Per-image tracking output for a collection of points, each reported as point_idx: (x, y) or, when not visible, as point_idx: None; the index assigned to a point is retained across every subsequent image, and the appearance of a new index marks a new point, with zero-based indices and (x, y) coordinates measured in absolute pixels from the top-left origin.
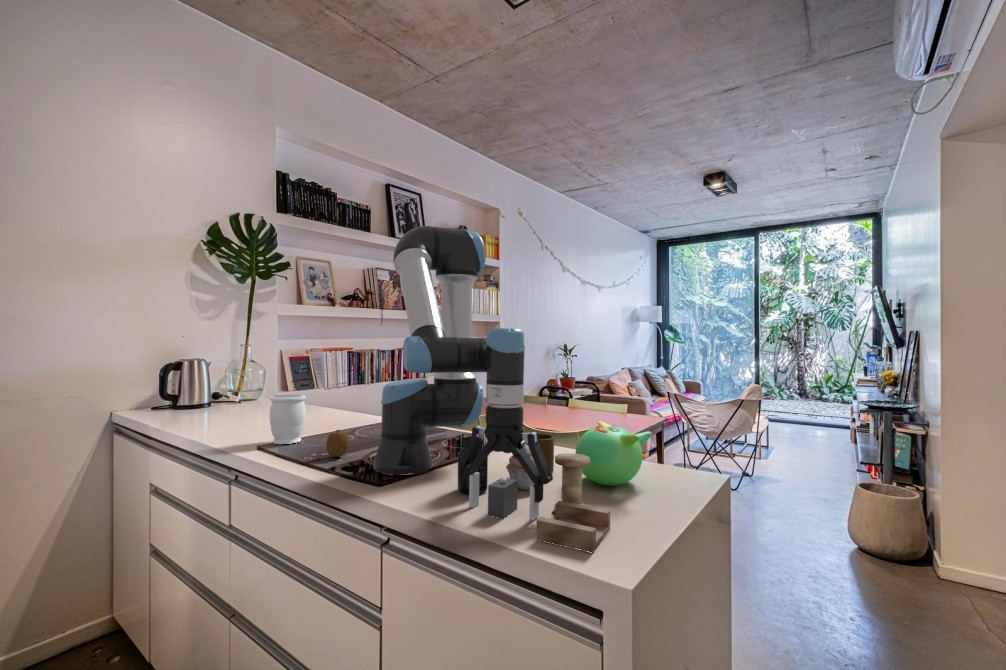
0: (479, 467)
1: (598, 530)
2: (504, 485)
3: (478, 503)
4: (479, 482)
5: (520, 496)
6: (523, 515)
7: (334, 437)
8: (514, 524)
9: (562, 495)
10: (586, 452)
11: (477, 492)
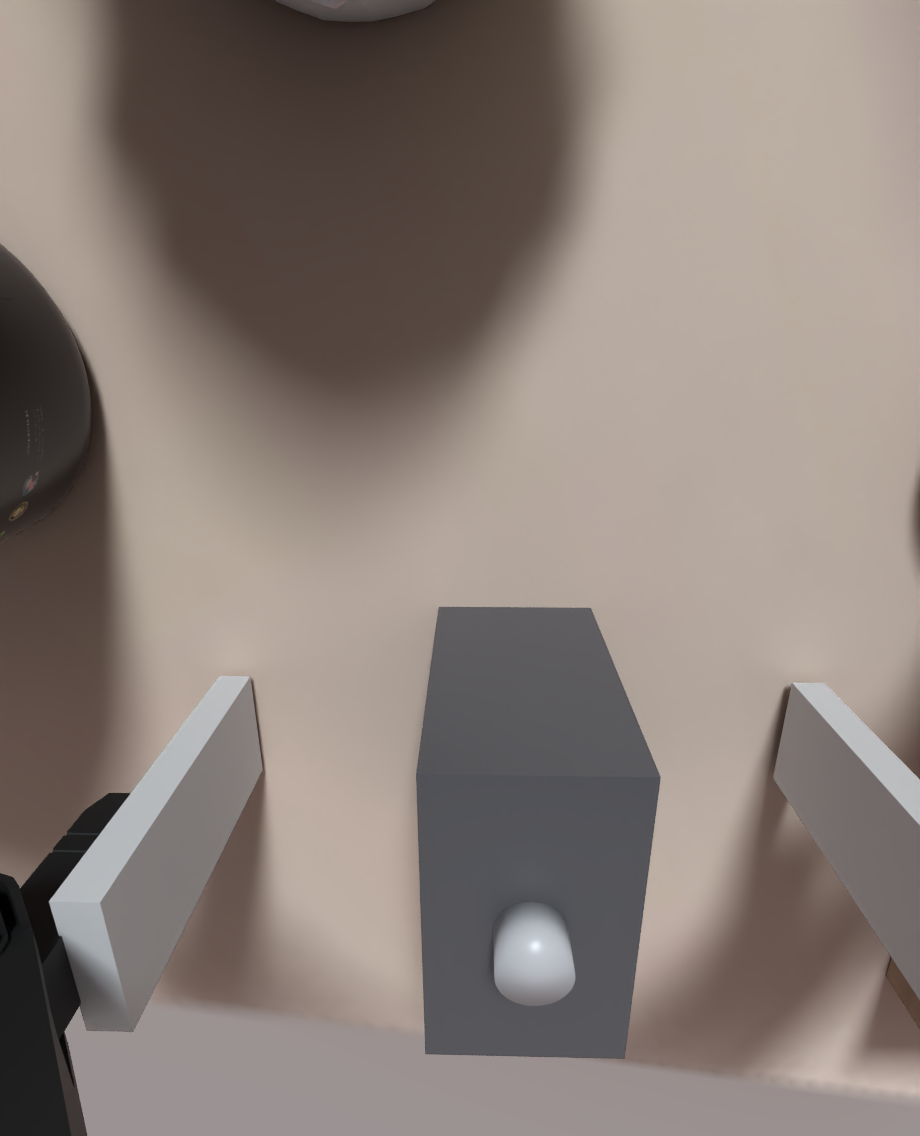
0: None
1: None
2: (589, 996)
3: (249, 685)
4: (5, 501)
5: (474, 259)
6: (688, 697)
7: None
8: (682, 854)
9: None
10: None
11: (212, 766)
